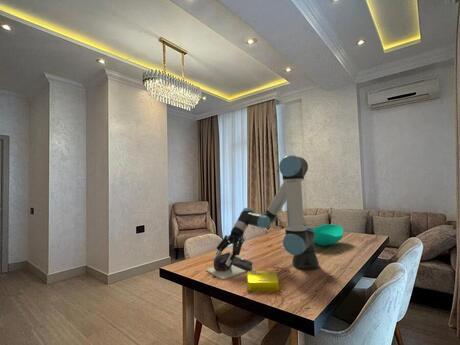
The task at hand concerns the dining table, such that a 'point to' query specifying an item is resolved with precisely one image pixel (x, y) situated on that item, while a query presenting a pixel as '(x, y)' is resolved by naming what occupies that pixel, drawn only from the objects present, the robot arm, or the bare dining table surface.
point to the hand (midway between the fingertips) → (221, 263)
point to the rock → (222, 262)
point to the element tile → (262, 281)
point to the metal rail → (242, 263)
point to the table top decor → (328, 234)
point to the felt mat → (226, 272)
